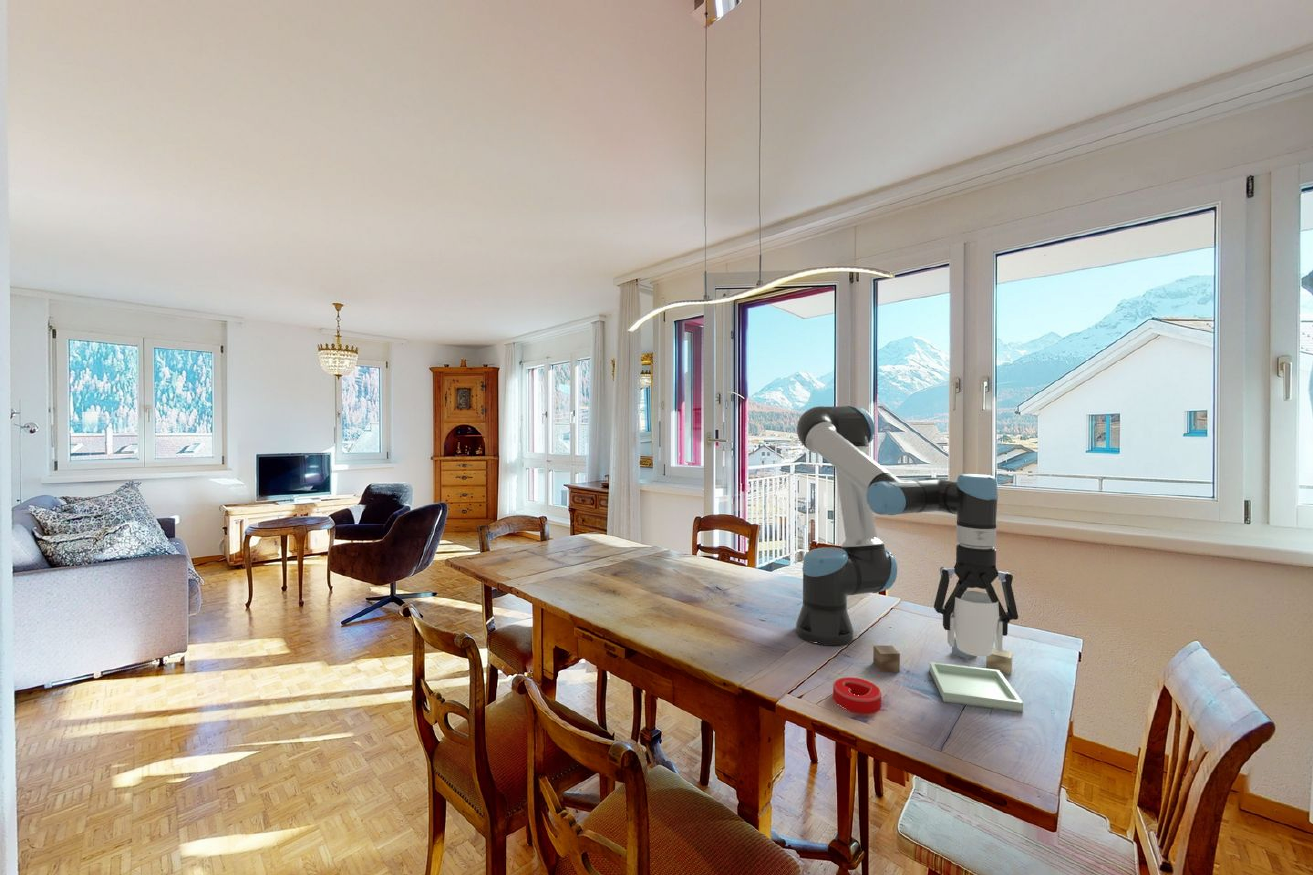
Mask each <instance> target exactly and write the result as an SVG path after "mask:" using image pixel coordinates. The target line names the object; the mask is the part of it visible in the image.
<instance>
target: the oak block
mask: <svg viewBox="0 0 1313 875" xmlns="http://www.w3.org/2000/svg"><path fill="white" fill-rule="evenodd" d="M1013 655H1014V652H1012V651H1007V650H1003V649H1002V652H998V651H997V649H996V648H995V647H993V650H992V654H991V655H989V656H985V658H986V659H985V660H986V661H985V664H986V665H985V668H986V669H995V670H1000V672H1001V673H1002V674H1007V675H1012V672H1013Z"/></svg>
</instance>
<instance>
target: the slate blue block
mask: <svg viewBox="0 0 1313 875" xmlns="http://www.w3.org/2000/svg"><path fill="white" fill-rule="evenodd" d="M951 653H952V654H953V655H956V656H958V657H960V658H963V659H965V660H968V659H972V658H976V657H978V656H973V655H969V654H966V653H964V652H962V651H960V650H959V649H958V648H957V643H956V636H954V647H951Z"/></svg>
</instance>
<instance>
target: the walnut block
mask: <svg viewBox="0 0 1313 875" xmlns="http://www.w3.org/2000/svg"><path fill="white" fill-rule="evenodd" d="M872 655H873V660H872V661H873V662H872V663H873V665H874V666H875V667H876V668H877V670H878V671H879V673H900V672H901V670H900V667H901V666H900V665H901V653H900V652H899V651H898V650H897V649H896V648H895V647H894V646H893V645H876V644H875V645H873V654H872Z"/></svg>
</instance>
